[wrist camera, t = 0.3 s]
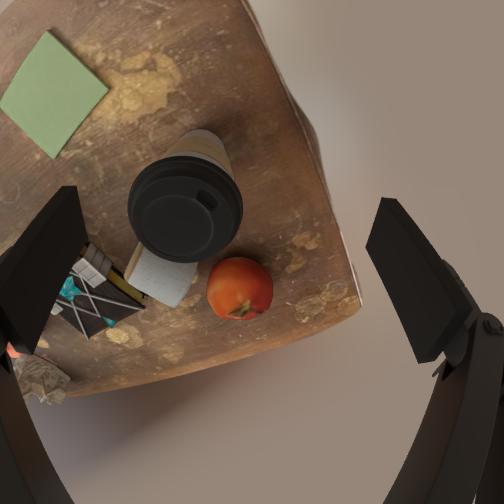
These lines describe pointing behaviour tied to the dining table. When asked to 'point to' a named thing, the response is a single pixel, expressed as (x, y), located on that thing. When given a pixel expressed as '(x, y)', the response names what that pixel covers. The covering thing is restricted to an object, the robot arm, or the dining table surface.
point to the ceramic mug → (159, 276)
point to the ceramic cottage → (40, 379)
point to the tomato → (239, 289)
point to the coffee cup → (187, 200)
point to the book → (96, 294)
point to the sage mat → (52, 94)
